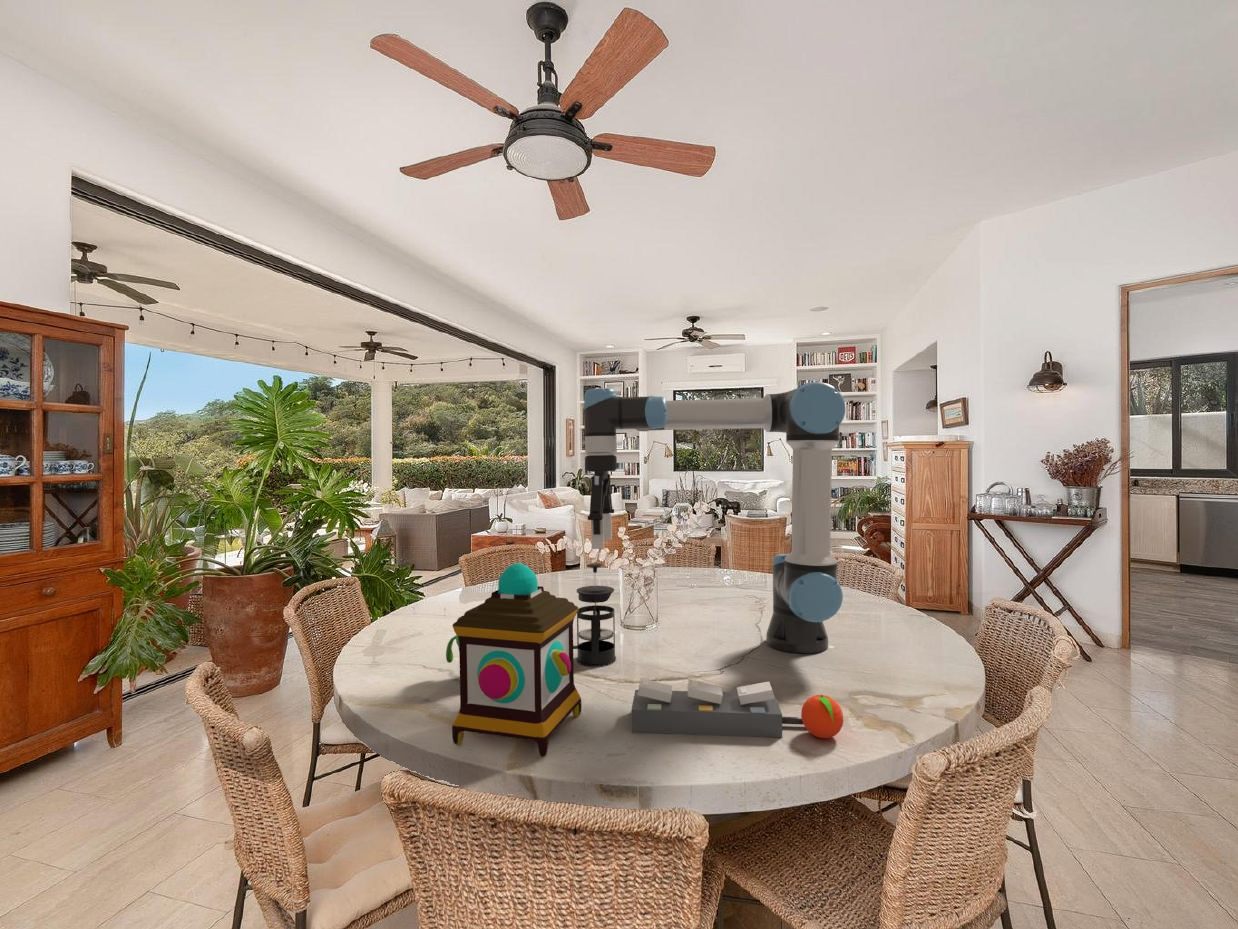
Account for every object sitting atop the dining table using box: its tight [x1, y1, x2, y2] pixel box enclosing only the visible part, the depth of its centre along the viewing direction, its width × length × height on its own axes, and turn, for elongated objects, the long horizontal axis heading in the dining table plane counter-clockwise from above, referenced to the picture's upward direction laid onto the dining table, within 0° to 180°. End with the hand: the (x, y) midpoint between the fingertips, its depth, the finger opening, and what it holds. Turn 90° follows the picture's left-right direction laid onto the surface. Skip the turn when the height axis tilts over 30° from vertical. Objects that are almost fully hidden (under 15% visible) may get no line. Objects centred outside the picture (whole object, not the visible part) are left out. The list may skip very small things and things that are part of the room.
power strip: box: [630, 689, 804, 738], centre depth 109 cm, size 32×9×4 cm, turn 84°
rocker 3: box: [736, 681, 775, 705], centre depth 109 cm, size 6×4×2 cm, turn 84°
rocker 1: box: [637, 677, 673, 703], centre depth 110 cm, size 6×4×2 cm, turn 84°
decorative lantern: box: [451, 562, 582, 758], centre depth 108 cm, size 20×20×30 cm
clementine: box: [800, 694, 844, 739], centre depth 104 cm, size 8×7×7 cm
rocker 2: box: [686, 679, 723, 704], centre depth 110 cm, size 6×4×2 cm, turn 84°
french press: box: [573, 562, 617, 668], centre depth 144 cm, size 12×9×23 cm
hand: (602, 544), depth 143 cm, fingers open, 13 cm apart
